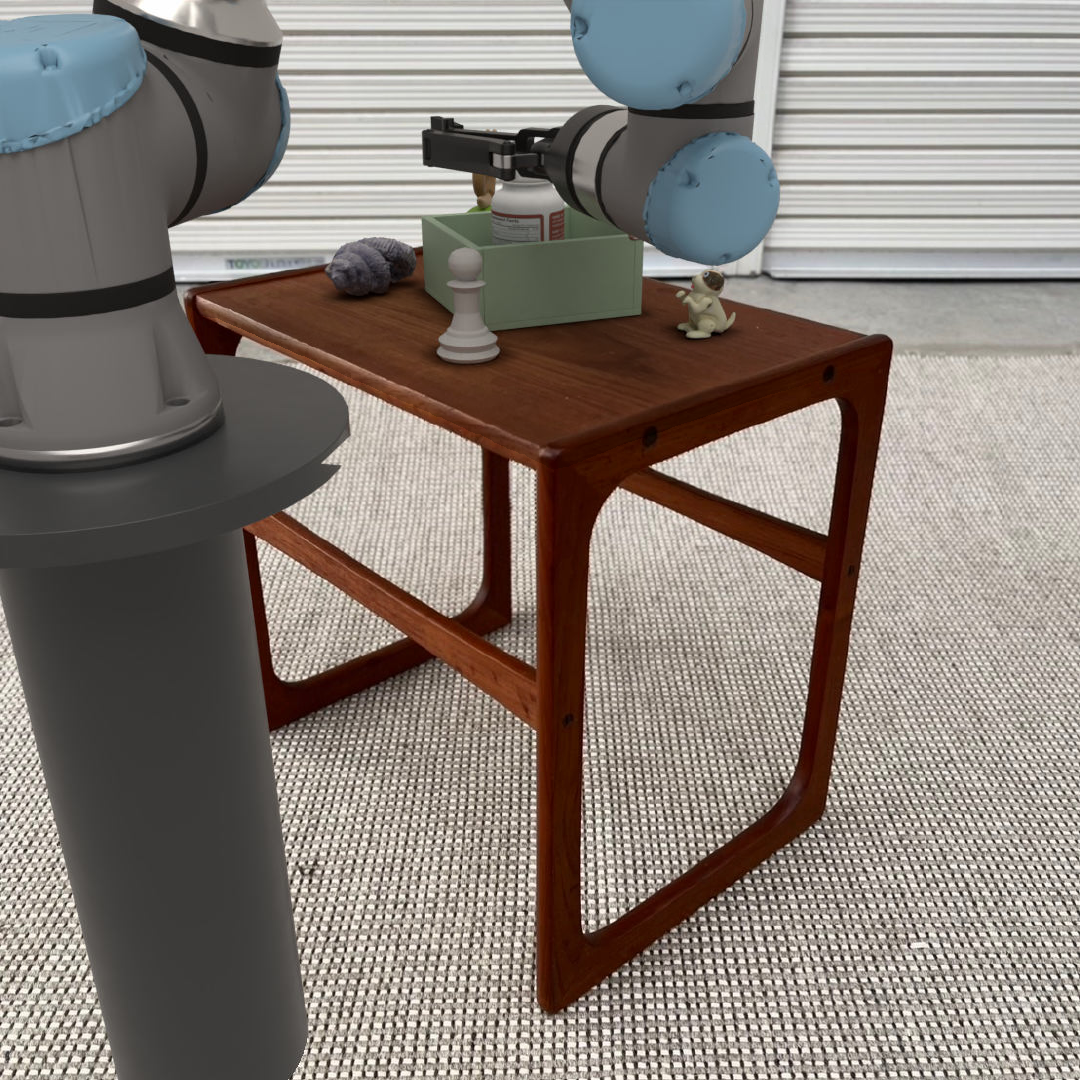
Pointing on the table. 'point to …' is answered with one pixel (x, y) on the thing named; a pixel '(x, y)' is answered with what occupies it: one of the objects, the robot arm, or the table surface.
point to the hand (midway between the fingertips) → (513, 130)
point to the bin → (538, 271)
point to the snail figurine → (483, 190)
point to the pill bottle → (527, 212)
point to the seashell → (371, 265)
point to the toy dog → (705, 306)
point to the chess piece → (467, 313)
